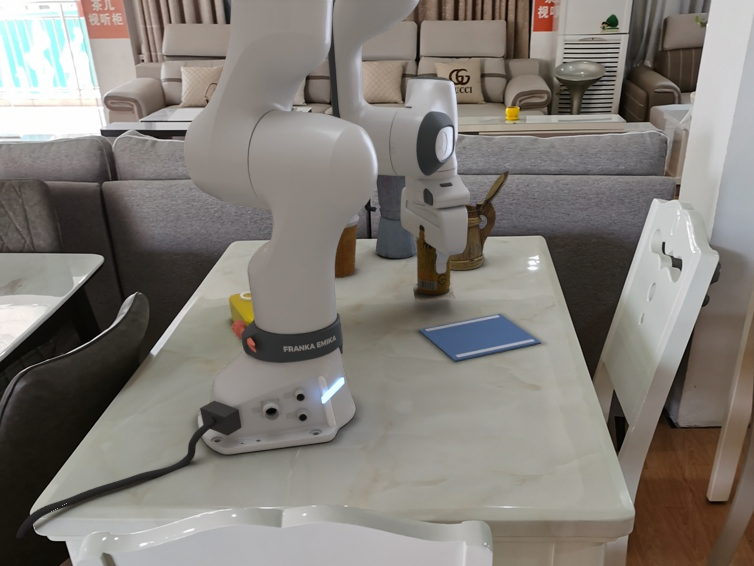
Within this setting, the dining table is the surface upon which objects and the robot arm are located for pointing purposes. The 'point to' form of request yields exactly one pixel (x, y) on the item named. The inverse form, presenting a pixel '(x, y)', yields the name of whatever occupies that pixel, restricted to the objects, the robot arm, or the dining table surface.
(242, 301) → the element tile
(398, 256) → the moka pot
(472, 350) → the napkin
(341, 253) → the disposable coffee cup
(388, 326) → the dining table surface
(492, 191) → the wooden mug
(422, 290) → the condiment
